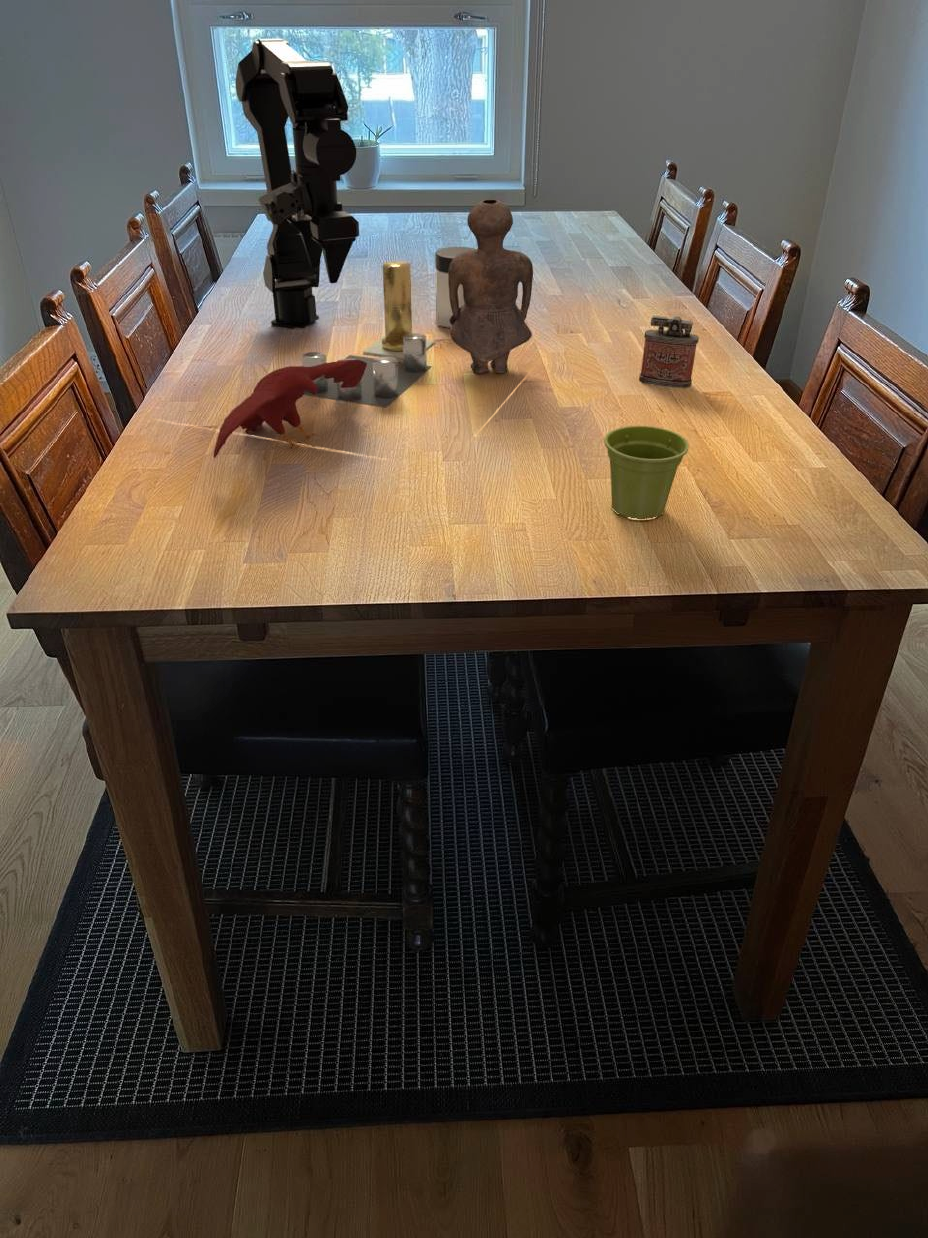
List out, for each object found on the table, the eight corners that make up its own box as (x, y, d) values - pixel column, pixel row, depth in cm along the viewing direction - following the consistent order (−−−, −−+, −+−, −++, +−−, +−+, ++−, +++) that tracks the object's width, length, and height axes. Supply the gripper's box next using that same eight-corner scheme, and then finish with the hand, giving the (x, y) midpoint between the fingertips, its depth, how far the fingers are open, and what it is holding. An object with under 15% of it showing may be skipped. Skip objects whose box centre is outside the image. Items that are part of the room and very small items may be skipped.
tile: (363, 355, 150) (363, 351, 150) (385, 338, 157) (385, 334, 156) (413, 362, 147) (413, 358, 147) (434, 344, 154) (434, 341, 154)
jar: (449, 332, 160) (449, 260, 153) (425, 319, 165) (424, 250, 158) (491, 323, 164) (493, 253, 157) (466, 311, 169) (467, 243, 162)
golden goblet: (382, 352, 149) (378, 269, 142) (381, 340, 154) (378, 260, 146) (416, 351, 150) (414, 269, 142) (415, 340, 154) (413, 260, 147)
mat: (297, 395, 136) (297, 393, 135) (349, 356, 149) (349, 354, 149) (386, 409, 132) (386, 407, 131) (431, 368, 145) (431, 366, 145)
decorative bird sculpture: (206, 509, 116) (256, 448, 105) (159, 451, 115) (204, 383, 104) (344, 432, 136) (398, 373, 125) (305, 381, 135) (355, 318, 124)
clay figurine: (527, 359, 149) (535, 193, 135) (532, 381, 141) (542, 207, 126) (447, 359, 149) (447, 192, 134) (448, 382, 141) (448, 207, 126)
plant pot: (590, 492, 111) (596, 425, 106) (665, 489, 112) (676, 423, 107) (606, 530, 104) (614, 461, 99) (687, 527, 105) (699, 458, 100)
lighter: (692, 382, 142) (702, 317, 136) (689, 389, 139) (700, 323, 133) (640, 375, 144) (648, 311, 138) (636, 382, 141) (645, 317, 135)
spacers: (297, 393, 135) (294, 360, 133) (349, 354, 149) (347, 324, 146) (384, 406, 132) (383, 373, 129) (430, 366, 145) (429, 334, 142)
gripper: (244, 157, 136) (257, 265, 145) (278, 178, 123) (290, 297, 132) (316, 152, 140) (324, 258, 149) (357, 173, 126) (363, 288, 136)
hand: (323, 275), depth 141 cm, fingers open, 9 cm apart
